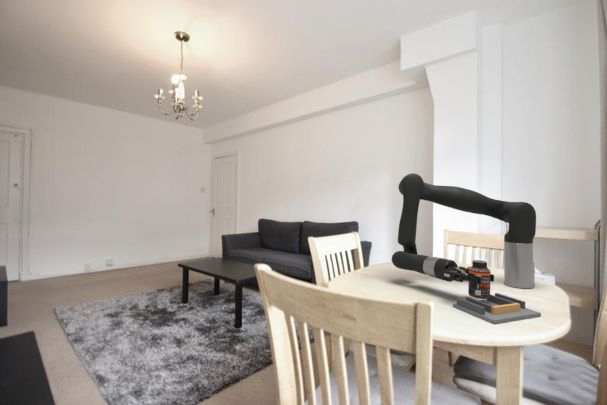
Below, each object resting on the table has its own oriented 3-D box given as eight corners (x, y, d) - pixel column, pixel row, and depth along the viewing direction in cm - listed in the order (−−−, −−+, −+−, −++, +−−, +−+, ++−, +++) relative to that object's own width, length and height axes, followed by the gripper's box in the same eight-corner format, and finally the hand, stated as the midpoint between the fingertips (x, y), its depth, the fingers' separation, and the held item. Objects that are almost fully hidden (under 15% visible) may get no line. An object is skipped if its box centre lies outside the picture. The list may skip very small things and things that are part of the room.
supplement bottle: (482, 301, 89) (483, 263, 88) (464, 295, 94) (464, 260, 94) (494, 298, 91) (494, 262, 91) (475, 292, 97) (476, 258, 97)
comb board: (495, 300, 97) (495, 292, 97) (540, 316, 84) (540, 305, 84) (452, 306, 92) (452, 297, 92) (494, 324, 78) (494, 313, 78)
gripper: (426, 259, 102) (473, 269, 87) (452, 256, 109) (500, 265, 94) (426, 281, 102) (473, 294, 87) (452, 276, 109) (500, 288, 94)
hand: (487, 279), depth 90 cm, fingers closed on supplement bottle, 6 cm apart
